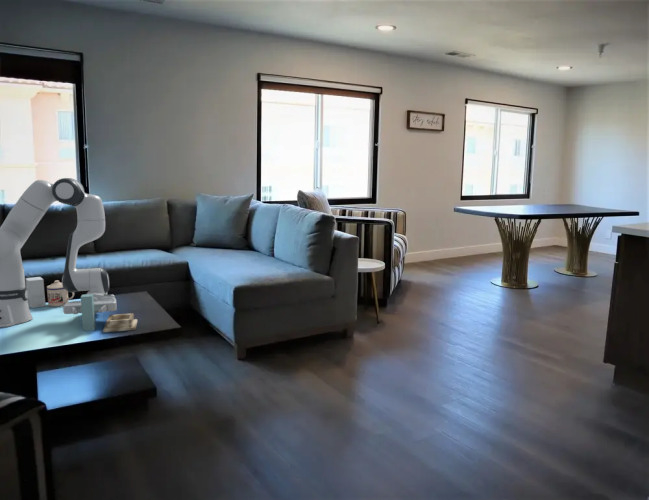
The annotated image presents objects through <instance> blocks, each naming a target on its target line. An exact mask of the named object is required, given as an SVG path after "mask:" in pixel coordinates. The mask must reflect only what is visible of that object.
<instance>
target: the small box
mask: <svg viewBox="0 0 649 500" xmlns="http://www.w3.org/2000/svg"><path fill="white" fill-rule="evenodd" d="M44 282H45V281H44V278H42V277H41V276H35V277H25V286H26V287H27V292H28V299H27V301H28V306H29V308H31V309H33V308H35V309H36V308H39V307H40V308H41V307H46V297H45V296H46V293H45V283H44Z"/></svg>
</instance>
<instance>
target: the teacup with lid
mask: <svg viewBox="0 0 649 500" xmlns="http://www.w3.org/2000/svg"><path fill="white" fill-rule="evenodd" d="M46 292H47V293H46V294H47V304H48V306H49V307H52V308H53V307H63V306H64V305H65V304H66V303H68V302H70V300H73V298H74V296H75V292H71V293H72V294H71V295H72V296H71V297H69V291H67V290H66V289H64V288H63V285H62V281H61V282H60V280H58V279H57V280H54V282H53V283H51V284H50V285H47V286H46Z"/></svg>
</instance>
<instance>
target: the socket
mask: <svg viewBox="0 0 649 500" xmlns="http://www.w3.org/2000/svg"><path fill="white" fill-rule="evenodd" d="M137 324H138V319H137V318H135V314H134V313H133V312H132V313H119V314H109V315H108V317H107V320H106V323H105V325H104V327H103V329H102V330H103V331H102V332H103V333H111V332H124V331H125V332H126V331H135V330H137V326H138V325H137Z"/></svg>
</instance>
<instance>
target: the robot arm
mask: <svg viewBox="0 0 649 500" xmlns="http://www.w3.org/2000/svg"><path fill="white" fill-rule="evenodd" d="M85 191H86V190H85V187H84V185H83V184H82V183H81V182H80V181H78V180H76V179H74V178H71V177H64V178H60V179H58V180H56V181H55V182H54V183H51V182H49V181H47V180H45V179H44V180H43V179H37V180H35V181H34V182H32V183H31V184H30V185H29V186H28V187H27V188H26V189H25V191H23V193H22V194H21V196H19V198H18V200H17V201H16V203H14V205H13V207H12V208H11V209H10V211H9V212H8V214H7V216H6V217H5V219H4V221H3V223H2V224H1V225H0V328H8V327H11V326H14V325H18V324H24V323H27V322H29V321H31V320H33V315H32V313H31V310H30V306H29V305H28V301H27V299H28V292H27V287H26V276H25V268H24V265H23V260H22V255H21V249H22V248H23V246H24V245H25V243H26V242H27V240H28V239H29V237H30V235H31V234H32V233H33V232H34V230H35V229H36V227H37V225H38V224H39V222H40V221H41V220H42V219H43V217H44V216H45V214H46V213H47V212H48V210H49V208H50V206H51V205H52V204H53V203H54V202H58V203H61V204H64V205H68V206H71V207H74V208H75V209H76V215H77V216H76V217H77V218H76V219H77V223H76V228H75V229H74V231H73V232H71V233H70V234H69V237H68V240H67V241H68V242H67V247H66V254H65V262H64V270H63V275H62V277H61V283H62V285H63V288H64V289H66V290H67V291H68V293H72V292H74V293H78V292H84V291H85V292H86V291H87V293H86V294H93V298H94V313H95V314H98V313H99V314H100V313H103V312H114V311H117V309H118V308H117V307H118V306H117V299H116V297H115V295H114V294H110V293H109V294H108V292H109V290H110V286H111V284H110V283H111V280H110V275H109V273H108V272H107V270H106V269H104V268H103V267H92V268H77V267H76V266H77V261H78V260H77V259H78V252H79V249H80V248H81V247H83V246H84V245H86V244H88V243H91V242H93V241H95V240H98V239H100V238H101V237H102V236H103V235H104V233H105V231H106V216H105V215H106V214H105V213H106V212H105V207H104V204H103V200H102V198H101V197H100V196H99V195H96V194H92V193H87V192H85ZM62 310H63V311H62V312H63V314H64V315H70V314H71V315H72V314H73V315H78V314H82V309H81V300H77V301H76V300H75V301H69V302H68V303H66V304H65V305H64V306H62Z"/></svg>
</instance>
